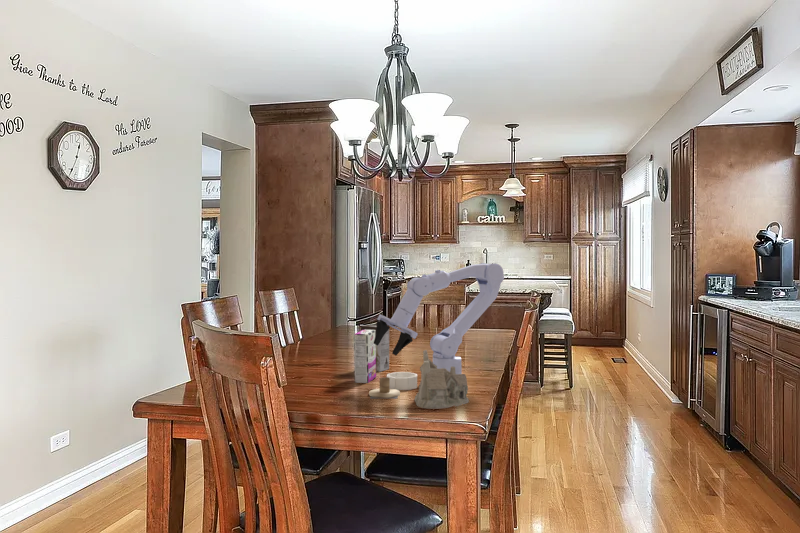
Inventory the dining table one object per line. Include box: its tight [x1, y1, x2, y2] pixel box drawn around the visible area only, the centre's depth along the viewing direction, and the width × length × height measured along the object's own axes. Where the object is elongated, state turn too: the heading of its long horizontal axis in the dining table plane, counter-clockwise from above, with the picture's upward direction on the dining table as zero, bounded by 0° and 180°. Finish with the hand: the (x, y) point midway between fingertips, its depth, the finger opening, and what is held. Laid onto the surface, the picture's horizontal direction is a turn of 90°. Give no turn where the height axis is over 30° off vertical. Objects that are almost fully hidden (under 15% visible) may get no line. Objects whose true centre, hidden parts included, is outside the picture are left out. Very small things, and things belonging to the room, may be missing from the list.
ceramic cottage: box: [414, 349, 470, 410], centre depth 170 cm, size 16×16×15 cm
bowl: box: [386, 371, 418, 391], centre depth 189 cm, size 10×10×4 cm
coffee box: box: [360, 323, 390, 373], centre depth 220 cm, size 9×6×16 cm
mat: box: [369, 396, 399, 400], centre depth 178 cm, size 8×10×1 cm
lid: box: [368, 376, 401, 398], centre depth 178 cm, size 9×9×5 cm
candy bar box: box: [353, 330, 377, 384], centre depth 200 cm, size 11×5×16 cm, turn 168°
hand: (384, 349), depth 188 cm, fingers open, 7 cm apart
